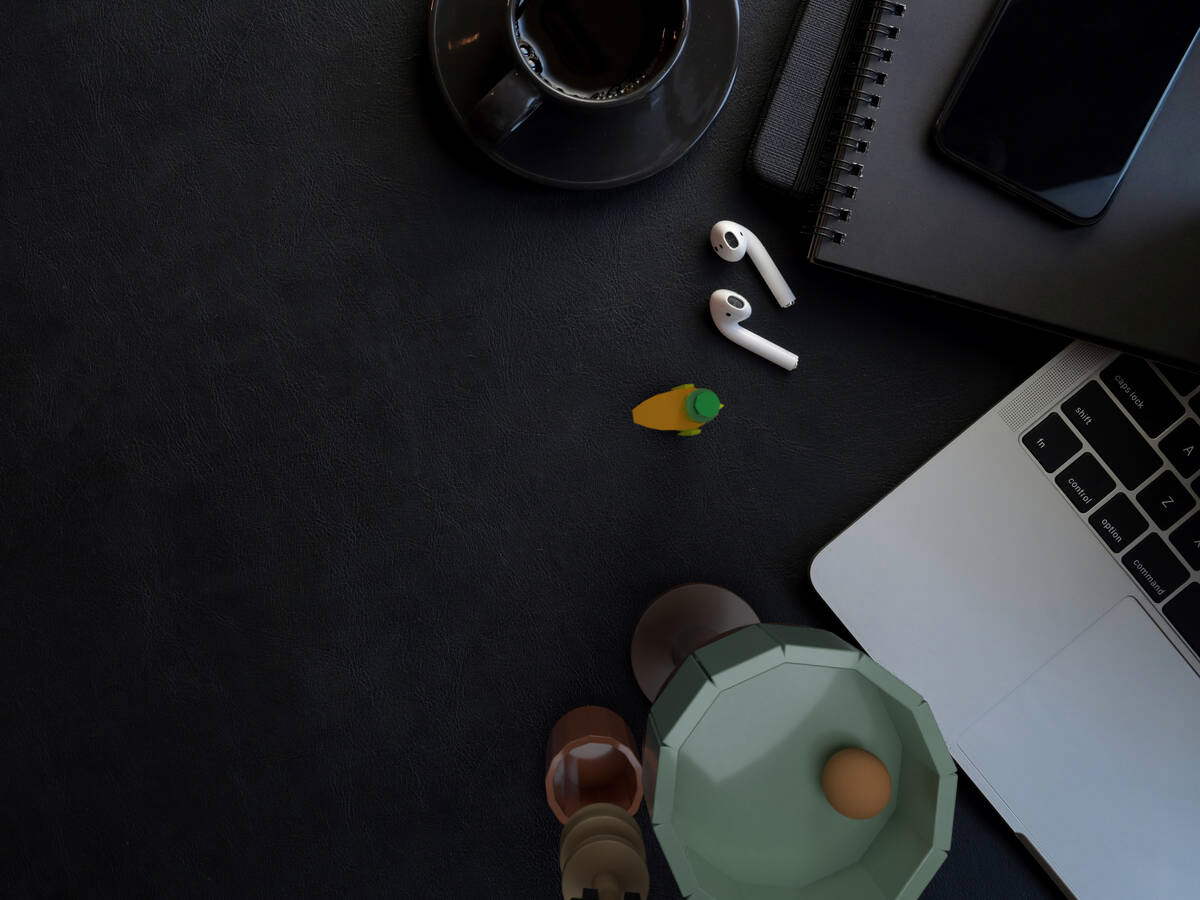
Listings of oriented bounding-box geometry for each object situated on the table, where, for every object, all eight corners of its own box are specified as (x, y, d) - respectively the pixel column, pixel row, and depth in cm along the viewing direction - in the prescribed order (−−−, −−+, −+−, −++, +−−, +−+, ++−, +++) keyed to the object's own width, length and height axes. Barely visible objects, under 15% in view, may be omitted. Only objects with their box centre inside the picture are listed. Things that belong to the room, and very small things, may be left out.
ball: (874, 807, 43) (898, 833, 40) (810, 801, 43) (829, 827, 40) (881, 742, 43) (905, 764, 40) (817, 736, 43) (837, 757, 40)
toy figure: (627, 444, 68) (642, 442, 56) (620, 396, 68) (633, 383, 56) (717, 431, 69) (751, 426, 57) (710, 383, 69) (743, 368, 57)
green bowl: (895, 906, 44) (938, 964, 39) (629, 882, 43) (639, 938, 38) (923, 639, 44) (970, 663, 39) (659, 612, 43) (672, 632, 38)
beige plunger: (638, 889, 51) (662, 1020, 39) (555, 882, 51) (554, 1011, 39) (647, 806, 52) (674, 911, 40) (564, 798, 51) (566, 901, 39)
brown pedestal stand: (772, 743, 69) (895, 906, 44) (603, 727, 68) (629, 882, 43) (790, 573, 69) (923, 639, 44) (621, 555, 68) (659, 612, 43)
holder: (630, 797, 68) (639, 838, 61) (541, 788, 68) (539, 829, 61) (639, 709, 68) (650, 741, 61) (551, 701, 68) (550, 731, 61)
